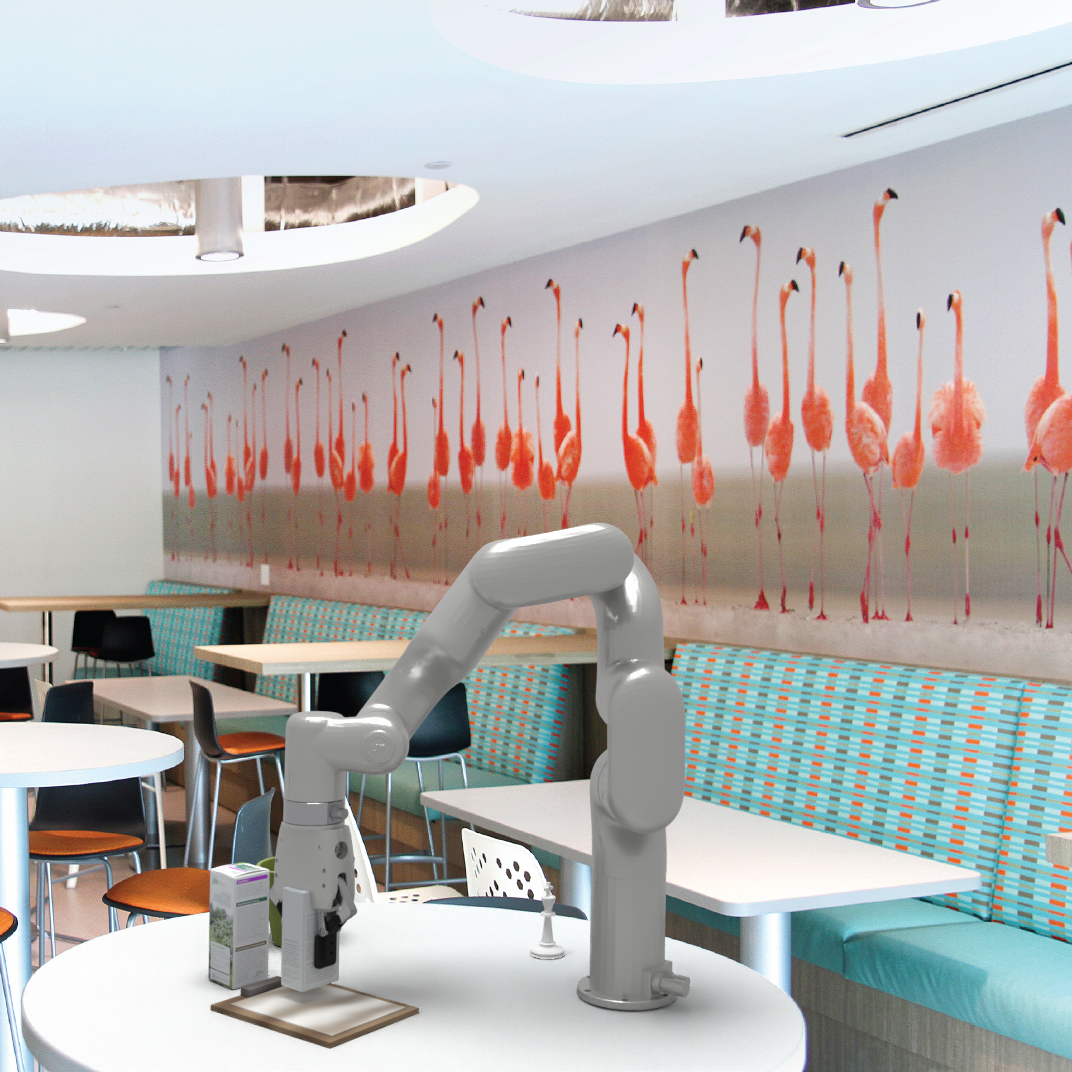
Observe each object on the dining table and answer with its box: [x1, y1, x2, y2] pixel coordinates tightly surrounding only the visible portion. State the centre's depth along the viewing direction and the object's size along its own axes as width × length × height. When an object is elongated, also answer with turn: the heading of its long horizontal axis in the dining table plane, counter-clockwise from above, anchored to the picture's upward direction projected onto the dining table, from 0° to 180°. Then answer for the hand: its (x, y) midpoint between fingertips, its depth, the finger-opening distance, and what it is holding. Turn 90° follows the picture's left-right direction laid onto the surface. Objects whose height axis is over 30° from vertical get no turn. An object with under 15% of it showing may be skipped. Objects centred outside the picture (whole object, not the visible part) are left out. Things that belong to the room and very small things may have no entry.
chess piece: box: [529, 881, 566, 960], centre depth 182 cm, size 5×5×10 cm
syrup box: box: [208, 862, 270, 990], centre depth 167 cm, size 6×6×14 cm
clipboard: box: [210, 975, 420, 1049], centre depth 156 cm, size 20×15×2 cm
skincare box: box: [280, 887, 341, 992], centre depth 160 cm, size 6×4×12 cm
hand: (310, 960), depth 160 cm, fingers closed on skincare box, 4 cm apart
